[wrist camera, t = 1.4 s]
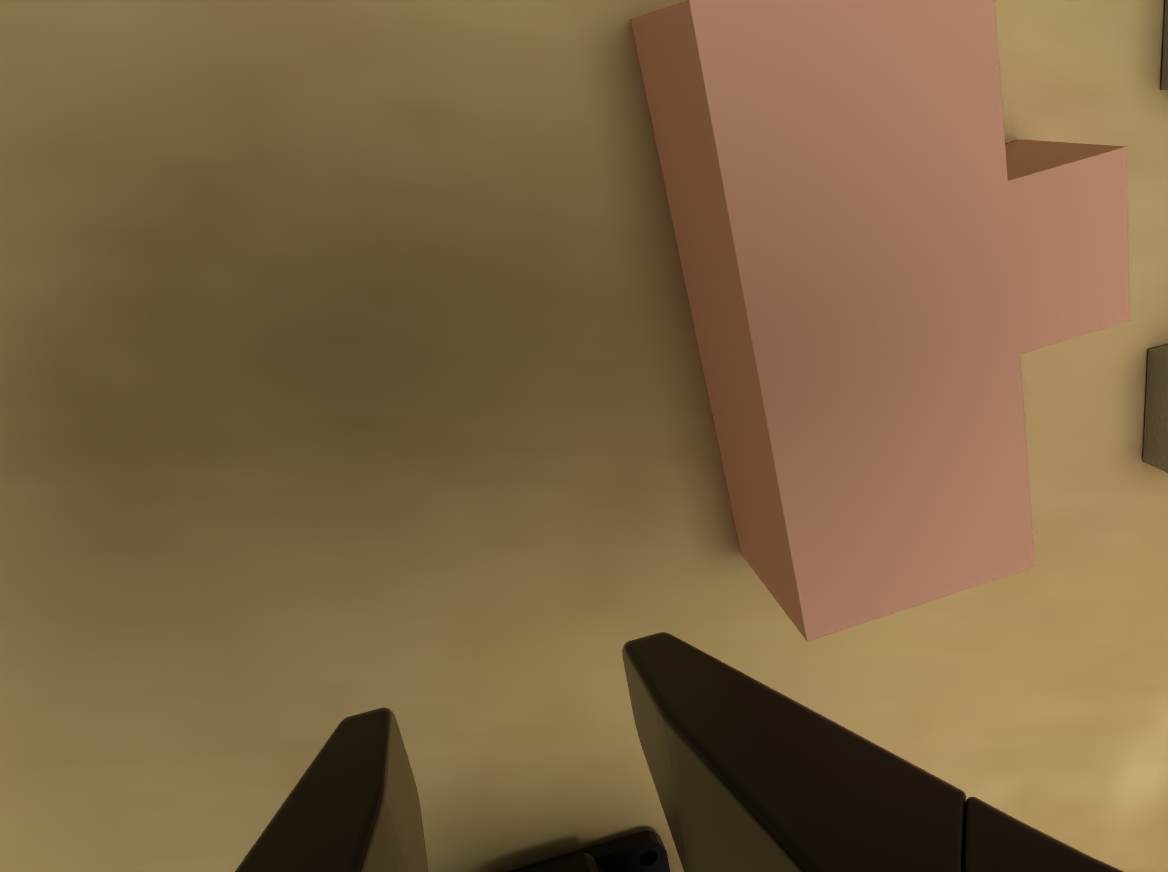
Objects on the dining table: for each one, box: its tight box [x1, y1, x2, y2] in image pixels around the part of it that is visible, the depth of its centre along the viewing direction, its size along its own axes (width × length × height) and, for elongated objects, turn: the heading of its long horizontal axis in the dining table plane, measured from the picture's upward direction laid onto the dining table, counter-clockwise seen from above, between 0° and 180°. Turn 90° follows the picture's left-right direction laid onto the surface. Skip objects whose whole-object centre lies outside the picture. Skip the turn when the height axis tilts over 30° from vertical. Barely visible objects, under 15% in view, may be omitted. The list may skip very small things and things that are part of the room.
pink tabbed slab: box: [631, 0, 1130, 641], centre depth 19 cm, size 12×8×4 cm, turn 14°
